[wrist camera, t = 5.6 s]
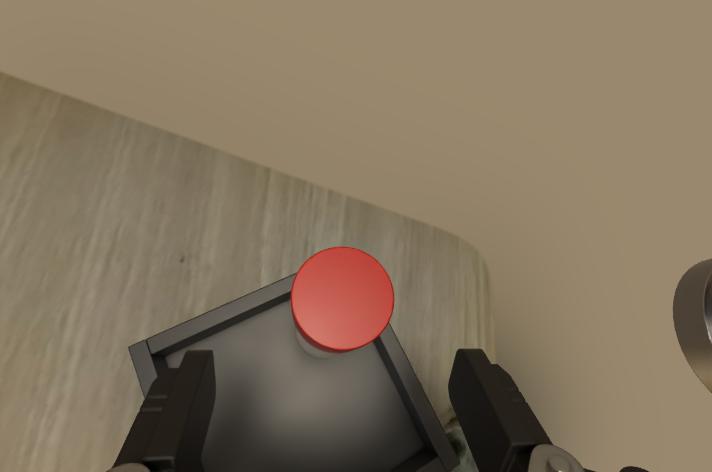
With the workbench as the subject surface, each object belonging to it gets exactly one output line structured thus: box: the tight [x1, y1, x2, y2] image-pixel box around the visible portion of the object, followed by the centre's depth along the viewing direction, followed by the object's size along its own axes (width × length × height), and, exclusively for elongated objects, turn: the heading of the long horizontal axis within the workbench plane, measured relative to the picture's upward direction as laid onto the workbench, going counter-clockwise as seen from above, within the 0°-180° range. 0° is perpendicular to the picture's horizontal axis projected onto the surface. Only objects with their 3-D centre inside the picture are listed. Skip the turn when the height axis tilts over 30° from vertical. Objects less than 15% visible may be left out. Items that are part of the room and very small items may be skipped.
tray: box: [128, 273, 460, 472], centre depth 19 cm, size 12×12×3 cm
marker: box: [291, 247, 394, 358], centre depth 16 cm, size 3×3×10 cm
